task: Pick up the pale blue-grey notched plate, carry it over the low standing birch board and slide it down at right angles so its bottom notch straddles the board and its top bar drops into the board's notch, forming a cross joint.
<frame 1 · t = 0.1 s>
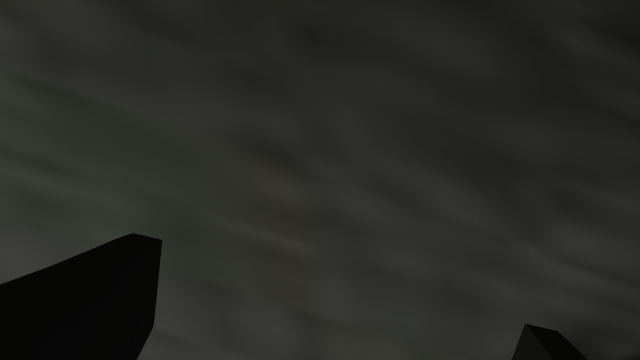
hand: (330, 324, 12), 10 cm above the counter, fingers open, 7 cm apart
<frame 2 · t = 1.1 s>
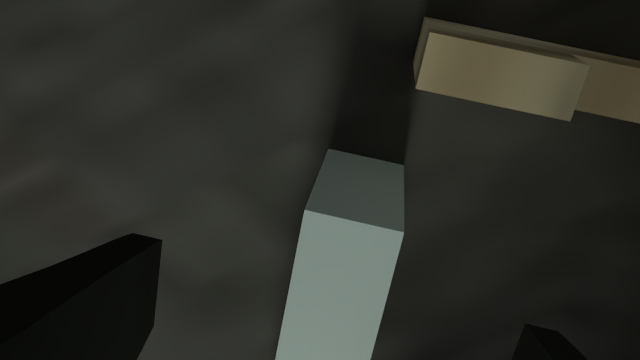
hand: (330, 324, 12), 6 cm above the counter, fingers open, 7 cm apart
birch board: (608, 79, 16), on the counter
notched plate: (332, 304, 19), on the counter
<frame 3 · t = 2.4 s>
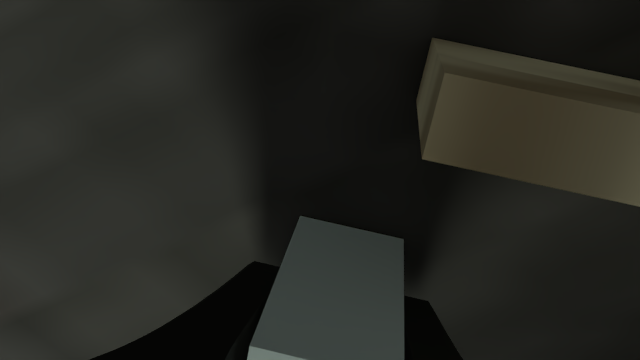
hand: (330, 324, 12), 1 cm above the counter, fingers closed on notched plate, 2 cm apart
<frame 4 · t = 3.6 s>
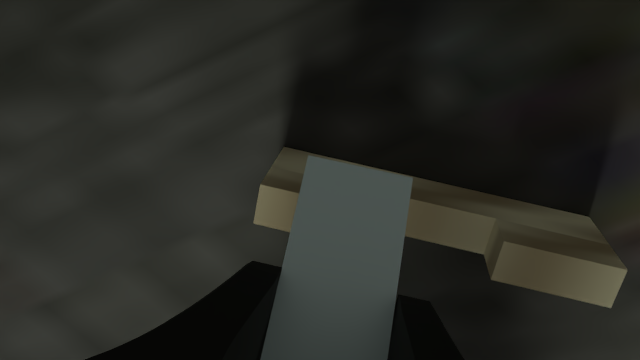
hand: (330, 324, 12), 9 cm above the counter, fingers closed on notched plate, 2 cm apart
birch board: (429, 198, 20), on the counter
notched plate: (334, 248, 17), point 3 cm above the counter, tilted 42°, touching gripper
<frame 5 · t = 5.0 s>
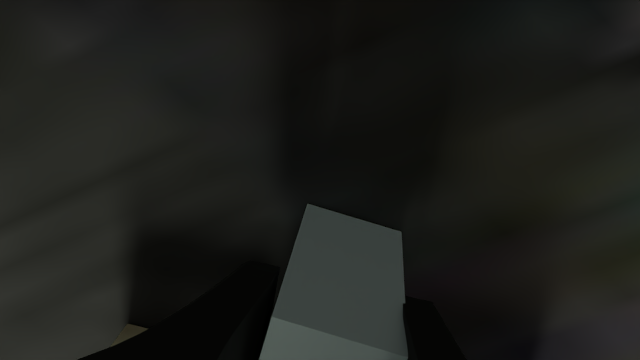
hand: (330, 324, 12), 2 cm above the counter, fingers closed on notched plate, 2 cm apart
when the fingers open (2 cm above the counter, at t = 5.3 s): notched plate stays where it is, on the counter.
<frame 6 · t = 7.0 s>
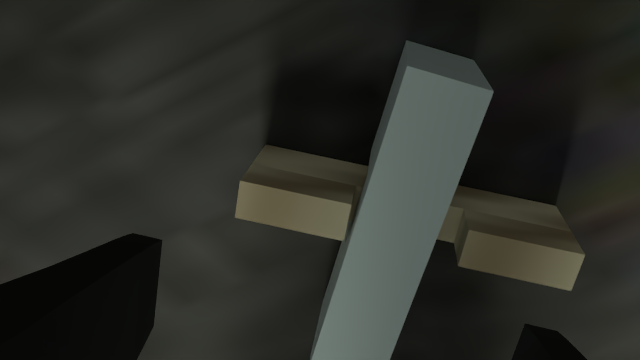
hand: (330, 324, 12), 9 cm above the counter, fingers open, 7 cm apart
birch board: (404, 190, 21), on the counter
notched plate: (391, 191, 21), on the counter
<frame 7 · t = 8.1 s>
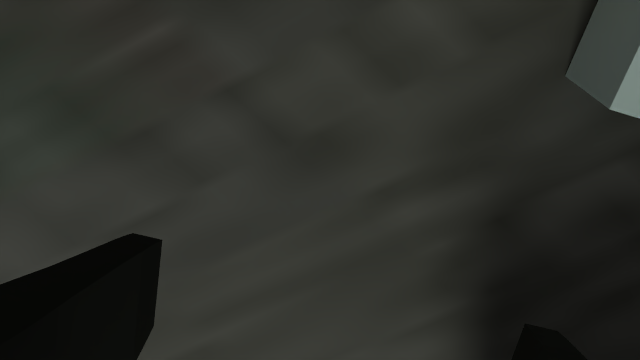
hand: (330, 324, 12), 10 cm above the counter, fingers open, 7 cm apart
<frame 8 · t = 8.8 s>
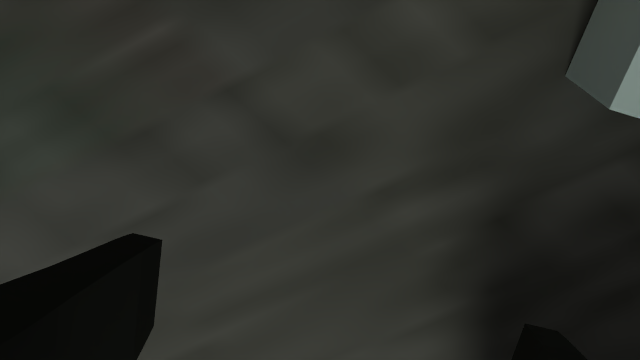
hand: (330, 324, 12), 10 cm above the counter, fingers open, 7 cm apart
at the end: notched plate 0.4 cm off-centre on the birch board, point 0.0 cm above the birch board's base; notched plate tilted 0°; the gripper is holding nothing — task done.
